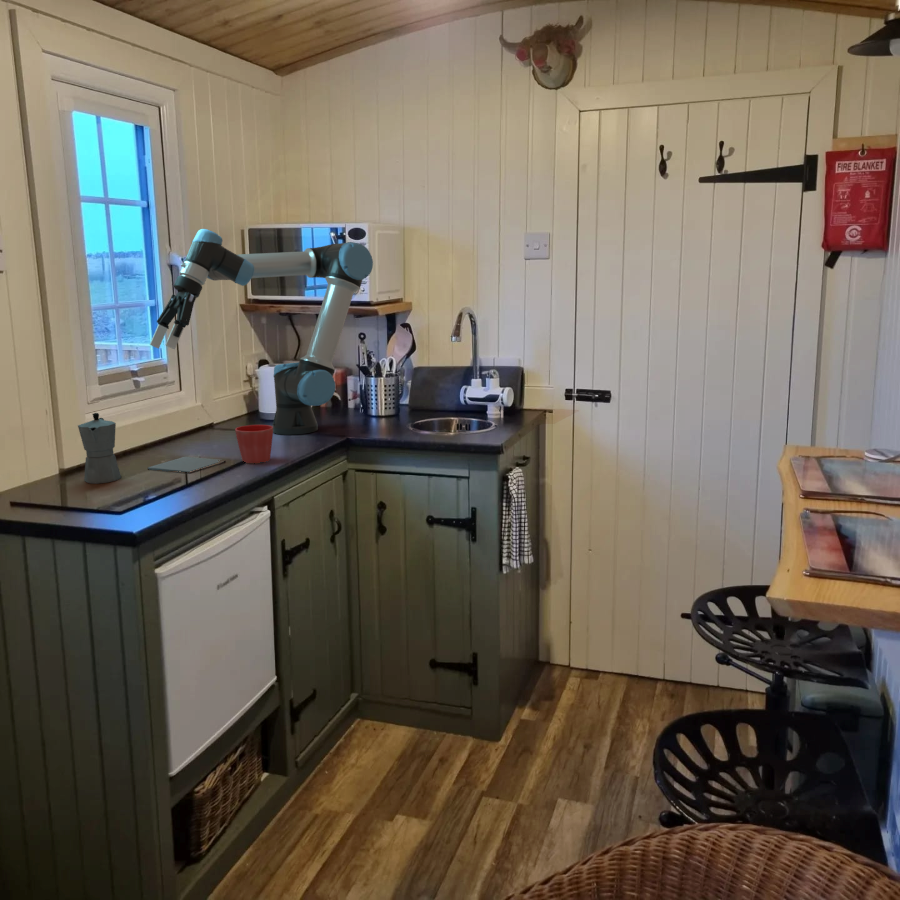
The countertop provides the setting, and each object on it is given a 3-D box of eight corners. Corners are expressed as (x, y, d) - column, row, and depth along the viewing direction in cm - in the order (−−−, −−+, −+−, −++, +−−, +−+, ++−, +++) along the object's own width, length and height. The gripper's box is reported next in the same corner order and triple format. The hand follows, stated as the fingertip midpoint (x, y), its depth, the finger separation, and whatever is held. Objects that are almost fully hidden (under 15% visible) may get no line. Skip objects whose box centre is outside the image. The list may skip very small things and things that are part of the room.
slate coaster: (185, 458, 258) (185, 456, 258) (225, 462, 252) (225, 460, 252) (147, 469, 245) (147, 467, 245) (189, 473, 239) (189, 471, 238)
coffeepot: (118, 483, 229) (110, 415, 225) (79, 486, 227) (71, 418, 223) (125, 471, 244) (119, 406, 240) (89, 473, 242) (82, 409, 238)
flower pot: (282, 457, 256) (280, 424, 254) (262, 465, 246) (260, 431, 244) (250, 456, 259) (248, 423, 257) (230, 464, 249) (227, 430, 247)
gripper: (164, 276, 264) (136, 340, 261) (194, 271, 244) (164, 341, 241) (187, 288, 268) (159, 351, 265) (218, 284, 248) (189, 353, 245)
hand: (161, 347), depth 253 cm, fingers open, 13 cm apart
